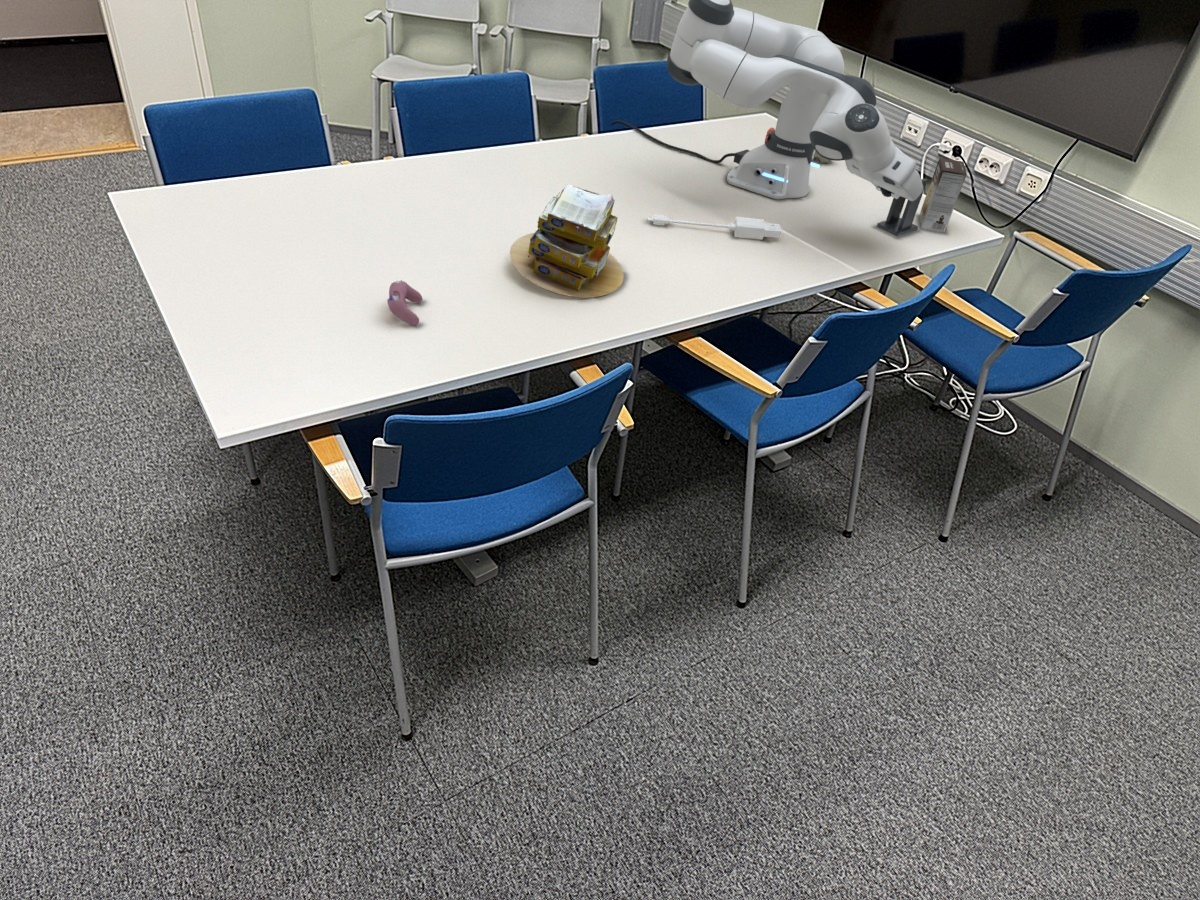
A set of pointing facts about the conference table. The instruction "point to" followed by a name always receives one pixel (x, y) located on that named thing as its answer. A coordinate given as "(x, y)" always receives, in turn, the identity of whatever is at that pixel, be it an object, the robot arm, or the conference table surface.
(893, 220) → the dark grey upright bracket
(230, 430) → the conference table surface
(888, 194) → the flush lever
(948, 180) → the coffee box
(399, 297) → the video game controller
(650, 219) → the charging cable
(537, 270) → the stack of yellow boxes
